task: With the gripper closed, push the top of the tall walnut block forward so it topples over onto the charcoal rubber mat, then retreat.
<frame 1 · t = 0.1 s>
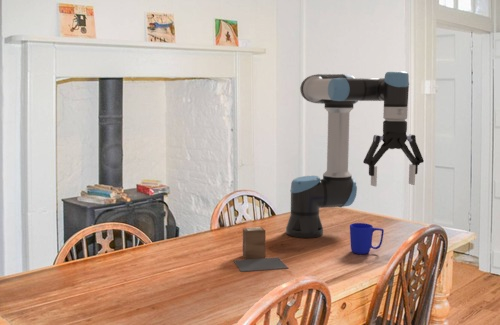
hand: (392, 185, 188), 28 cm above the table, fingers open, 13 cm apart
walnut block: (253, 256, 204), on the table
mat: (260, 264, 195), on the table
mug: (365, 253, 209), on the table
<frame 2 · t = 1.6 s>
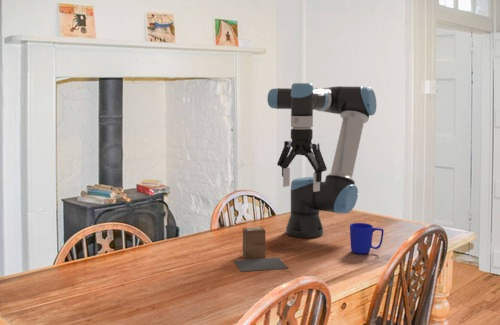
hand: (301, 188, 201), 24 cm above the table, fingers open, 13 cm apart
nothing on the table moved.
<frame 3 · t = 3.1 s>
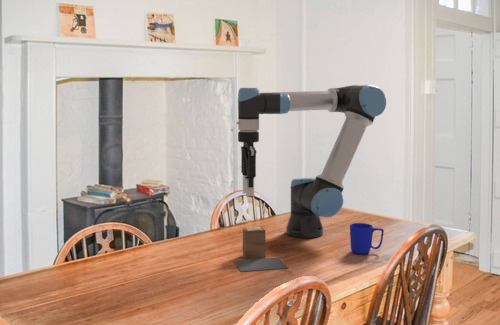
hand: (248, 194, 210), 21 cm above the table, fingers open, 5 cm apart
nothing on the table moved.
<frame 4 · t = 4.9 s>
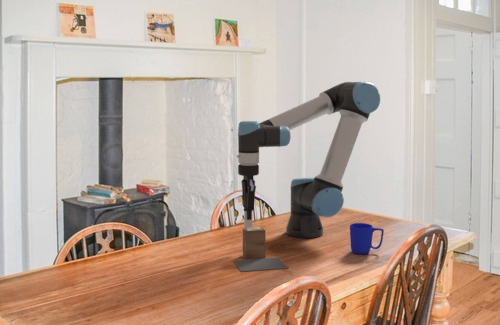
hand: (248, 227, 211), 8 cm above the table, fingers closed
nothing on the table moved.
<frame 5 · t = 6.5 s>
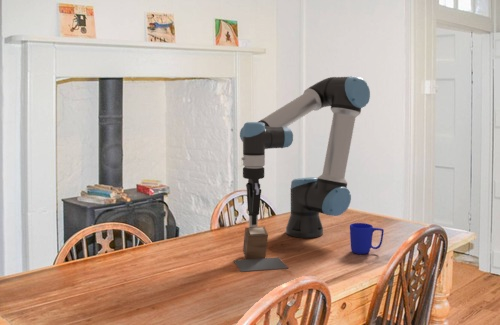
hand: (253, 232, 203), 9 cm above the table, fingers closed
walnut block: (253, 254, 203), point 1 cm above the table, tilted 21°
everything else where it was.
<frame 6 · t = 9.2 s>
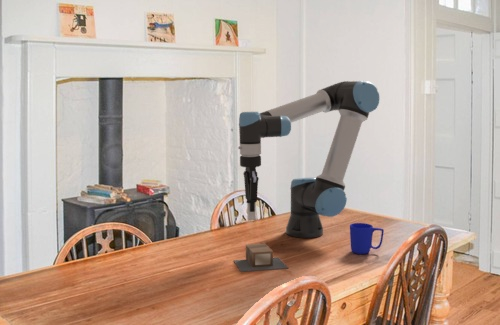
hand: (251, 219, 208), 12 cm above the table, fingers closed
walnut block: (255, 250, 201), point 3 cm above the table, tilted 90°, touching mat
everything else where it was.
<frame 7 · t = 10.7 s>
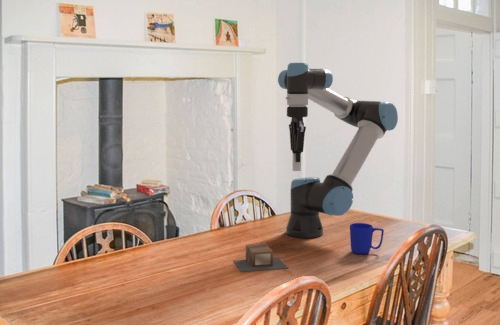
hand: (296, 170, 211), 29 cm above the table, fingers closed
nothing on the table moved.
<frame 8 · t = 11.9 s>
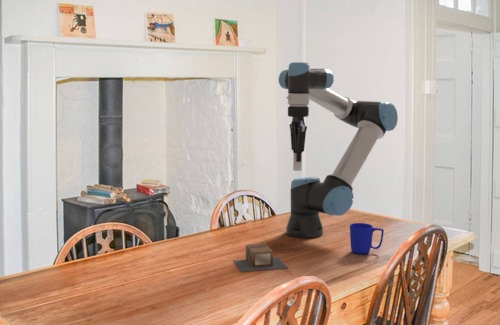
hand: (297, 170, 211), 29 cm above the table, fingers closed
nothing on the table moved.
at the end: walnut block tilted 90°; walnut block inside the target area (2.1 cm from its centre), point 2.8 cm above the table; walnut block touching mat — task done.
